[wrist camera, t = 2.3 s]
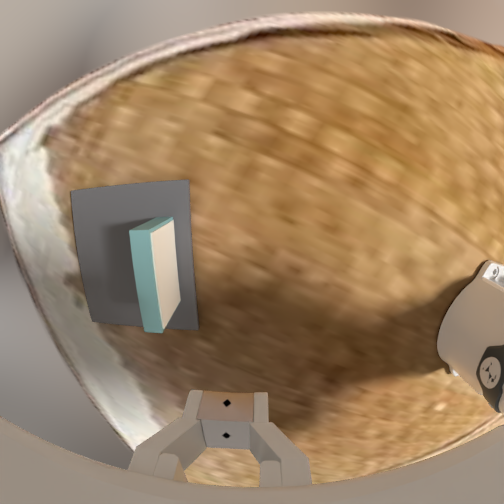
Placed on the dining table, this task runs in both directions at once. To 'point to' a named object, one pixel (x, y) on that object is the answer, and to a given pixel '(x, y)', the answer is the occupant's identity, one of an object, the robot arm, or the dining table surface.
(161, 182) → the mat
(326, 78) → the dining table surface
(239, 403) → the robot arm
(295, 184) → the dining table surface
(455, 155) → the dining table surface
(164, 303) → the box
